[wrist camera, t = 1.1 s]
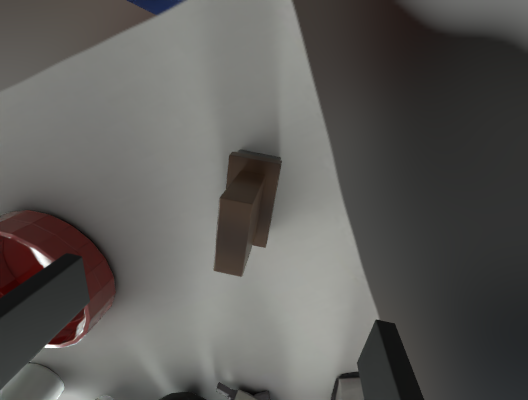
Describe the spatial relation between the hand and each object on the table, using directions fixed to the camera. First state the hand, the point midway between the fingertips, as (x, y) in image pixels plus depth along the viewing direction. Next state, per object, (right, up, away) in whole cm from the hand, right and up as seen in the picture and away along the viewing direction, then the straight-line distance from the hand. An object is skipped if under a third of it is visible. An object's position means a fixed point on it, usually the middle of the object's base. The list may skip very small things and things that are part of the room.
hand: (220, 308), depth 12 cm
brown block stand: (+1, +6, +14) cm, 15 cm away
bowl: (-25, -4, +23) cm, 34 cm away
